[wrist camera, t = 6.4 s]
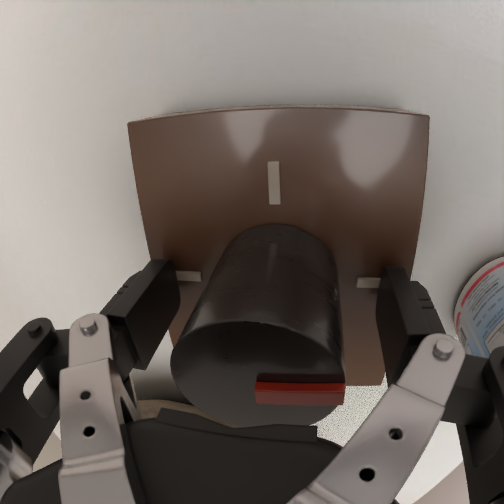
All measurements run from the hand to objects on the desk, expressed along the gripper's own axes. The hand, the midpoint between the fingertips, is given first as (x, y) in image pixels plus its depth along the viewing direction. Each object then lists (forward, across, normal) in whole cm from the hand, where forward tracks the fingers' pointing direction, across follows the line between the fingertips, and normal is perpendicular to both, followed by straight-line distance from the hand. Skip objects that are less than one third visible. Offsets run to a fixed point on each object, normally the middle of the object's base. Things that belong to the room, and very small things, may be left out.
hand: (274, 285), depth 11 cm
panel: (+3, 0, 0) cm, 3 cm away
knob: (0, 0, 0) cm, 0 cm away
